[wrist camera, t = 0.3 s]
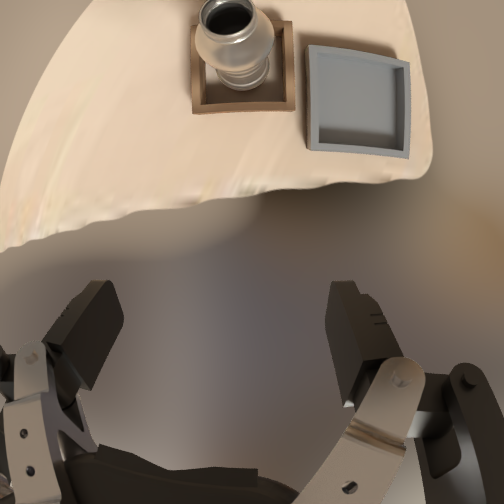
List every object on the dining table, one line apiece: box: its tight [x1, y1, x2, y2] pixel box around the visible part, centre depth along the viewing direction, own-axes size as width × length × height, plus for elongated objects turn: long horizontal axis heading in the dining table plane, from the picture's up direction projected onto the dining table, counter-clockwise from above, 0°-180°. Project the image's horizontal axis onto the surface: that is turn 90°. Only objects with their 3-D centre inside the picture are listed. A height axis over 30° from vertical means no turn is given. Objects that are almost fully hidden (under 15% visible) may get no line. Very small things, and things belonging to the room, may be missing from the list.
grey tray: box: [305, 45, 411, 159], centre depth 30 cm, size 14×14×3 cm
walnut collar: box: [191, 20, 295, 115], centre depth 28 cm, size 12×12×4 cm
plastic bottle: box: [195, 0, 274, 91], centre depth 21 cm, size 6×7×20 cm
